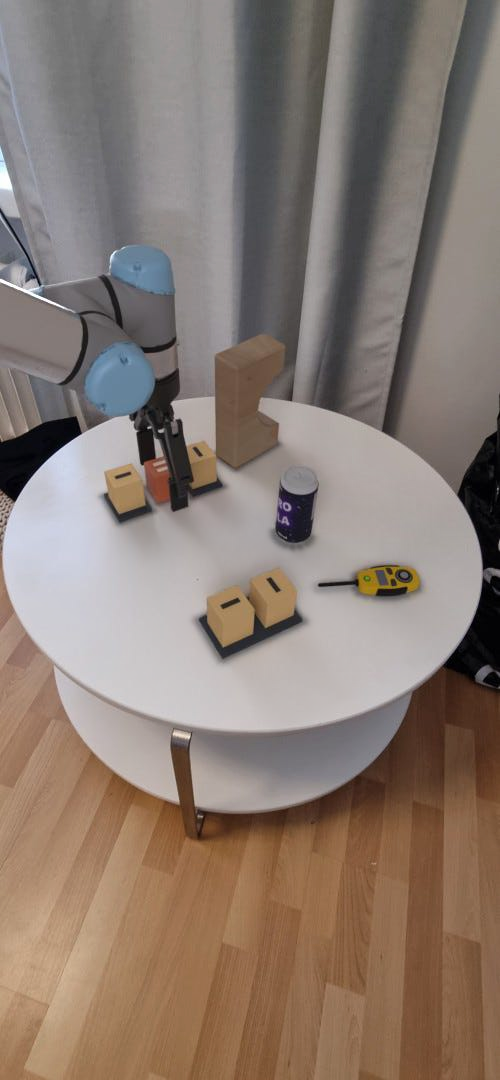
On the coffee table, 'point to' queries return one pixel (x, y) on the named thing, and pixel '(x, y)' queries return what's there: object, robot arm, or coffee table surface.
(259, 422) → the decorative block
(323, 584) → the yellow walkie talkie
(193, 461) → the tan cubes
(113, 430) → the coffee table surface
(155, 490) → the pause symbol cube
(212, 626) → the tan boxes on tray
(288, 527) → the beverage can
